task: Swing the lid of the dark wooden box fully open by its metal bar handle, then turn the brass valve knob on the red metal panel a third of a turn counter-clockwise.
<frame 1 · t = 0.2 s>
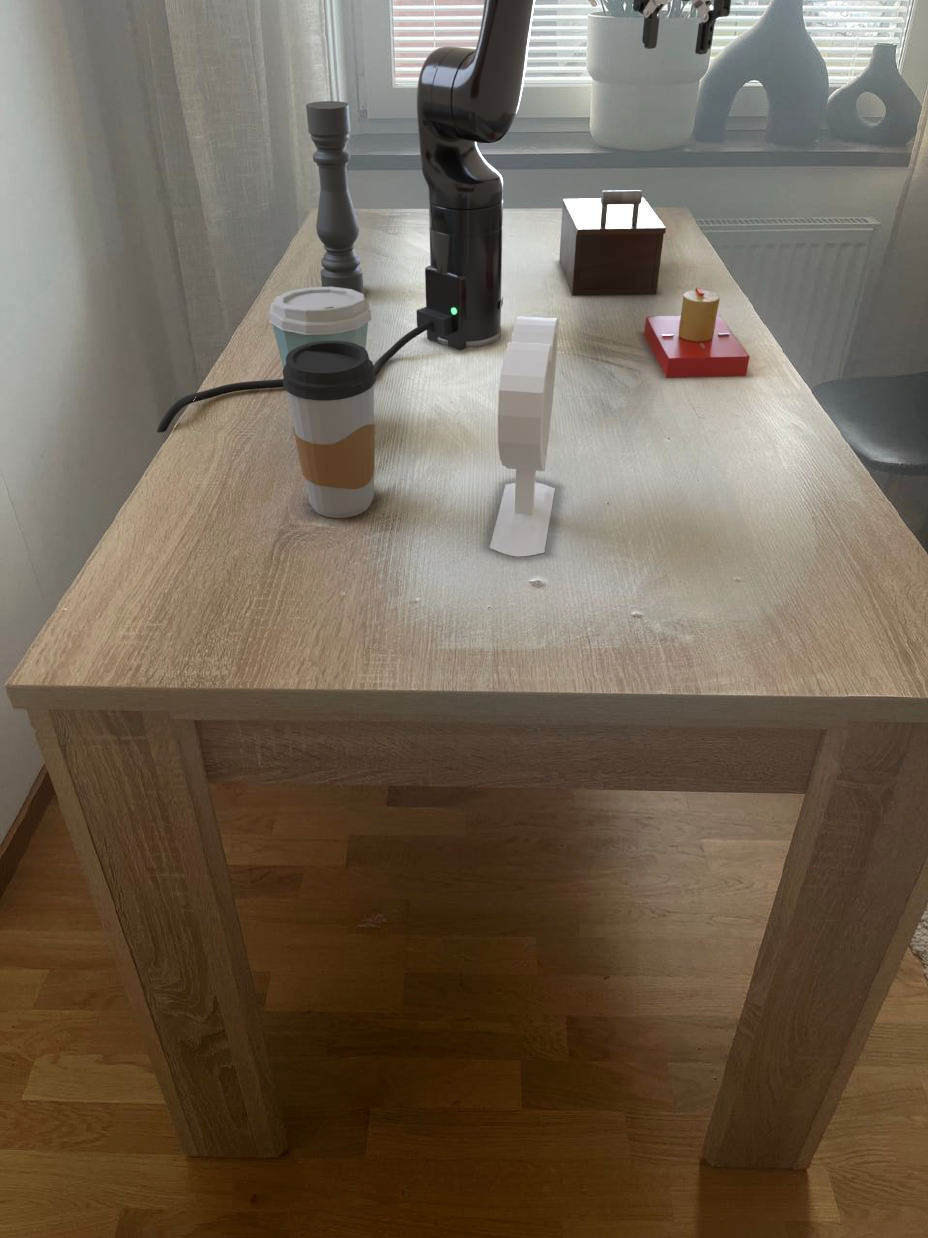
hand: (675, 50, 132), 29 cm above the table, tool pointing down, fingers open, 8 cm apart
candle holder: (343, 294, 138), on the table
disposable coffee cup: (332, 429, 104), on the table
heart sculpture: (523, 518, 89), on the table
box lid: (613, 199, 135), point 11 cm above the table, hinge at 0.0°
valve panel: (692, 354, 119), on the table
valve knob: (698, 314, 116), point 5 cm above the table, hinge at 0.0°
coffee cup: (342, 504, 91), on the table
dark wooden box: (605, 277, 143), on the table
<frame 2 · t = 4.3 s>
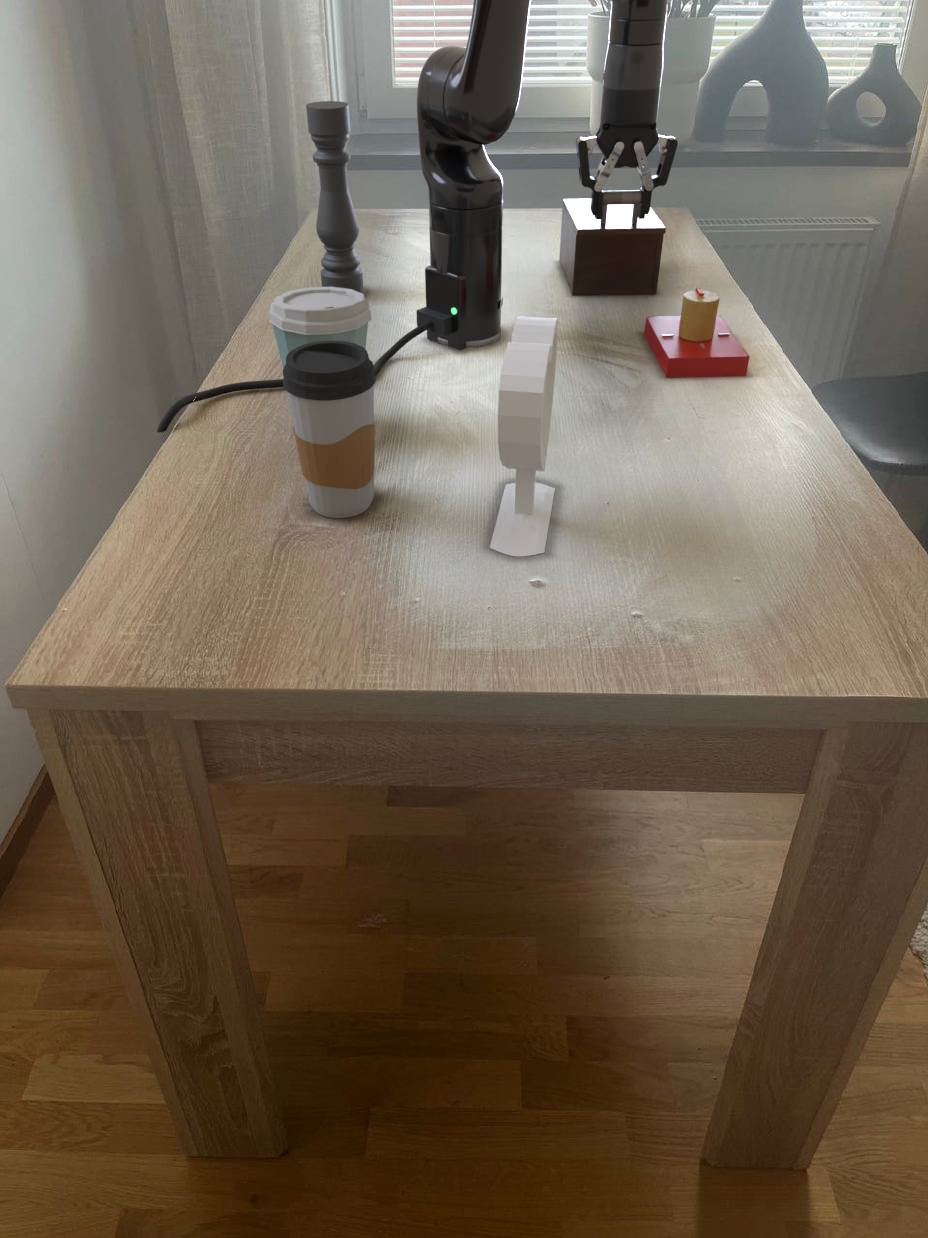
hand: (619, 217, 132), 11 cm above the table, tool pointing down, fingers closed on box lid, 5 cm apart
box lid: (613, 199, 135), point 11 cm above the table, hinge at 0.0°, touching gripper
everything else where it was.
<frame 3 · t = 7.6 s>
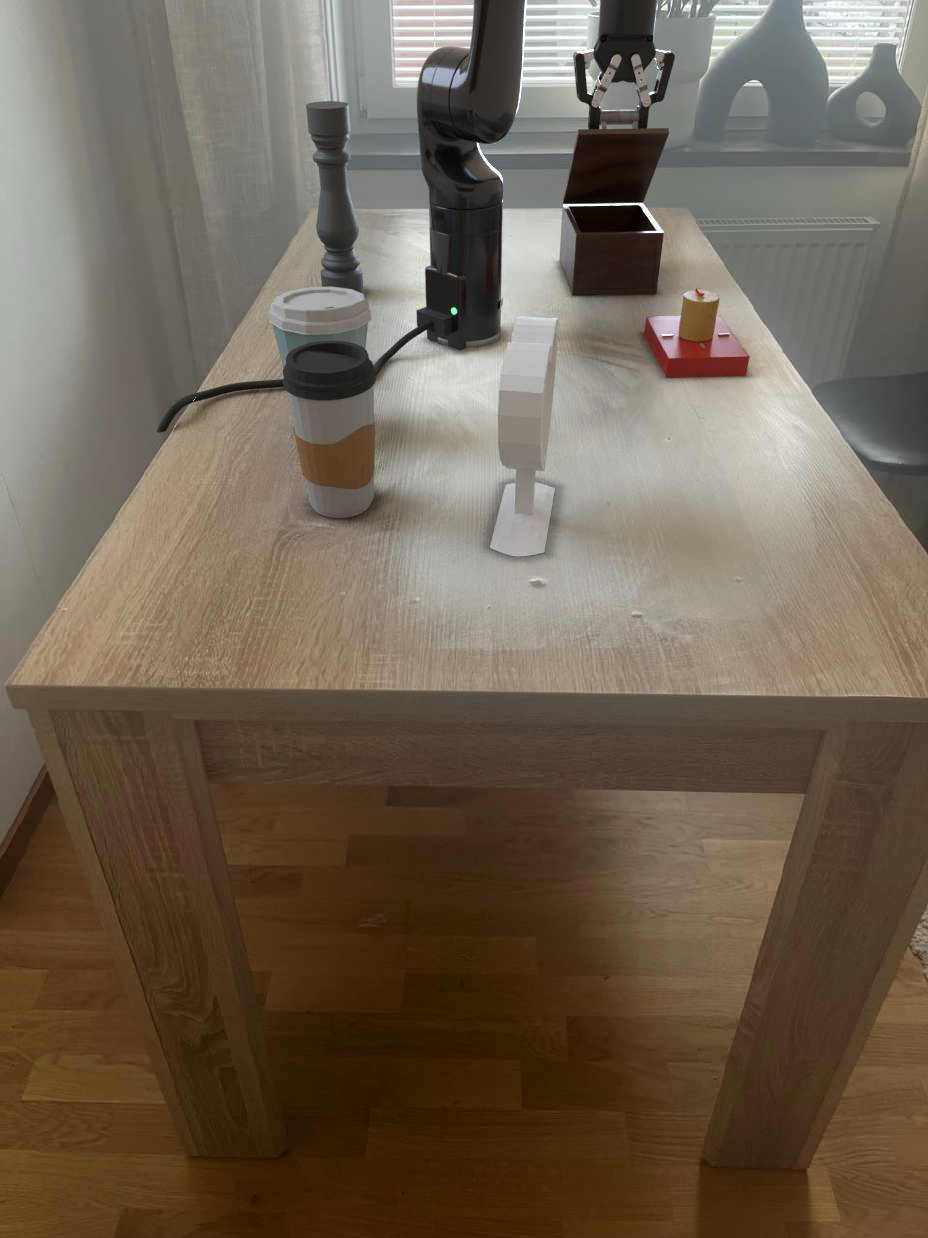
hand: (616, 135, 132), 20 cm above the table, tool pointing down, fingers closed on box lid, 5 cm apart
box lid: (611, 154, 135), point 17 cm above the table, hinge at 46.3°, touching gripper
everything else where it was.
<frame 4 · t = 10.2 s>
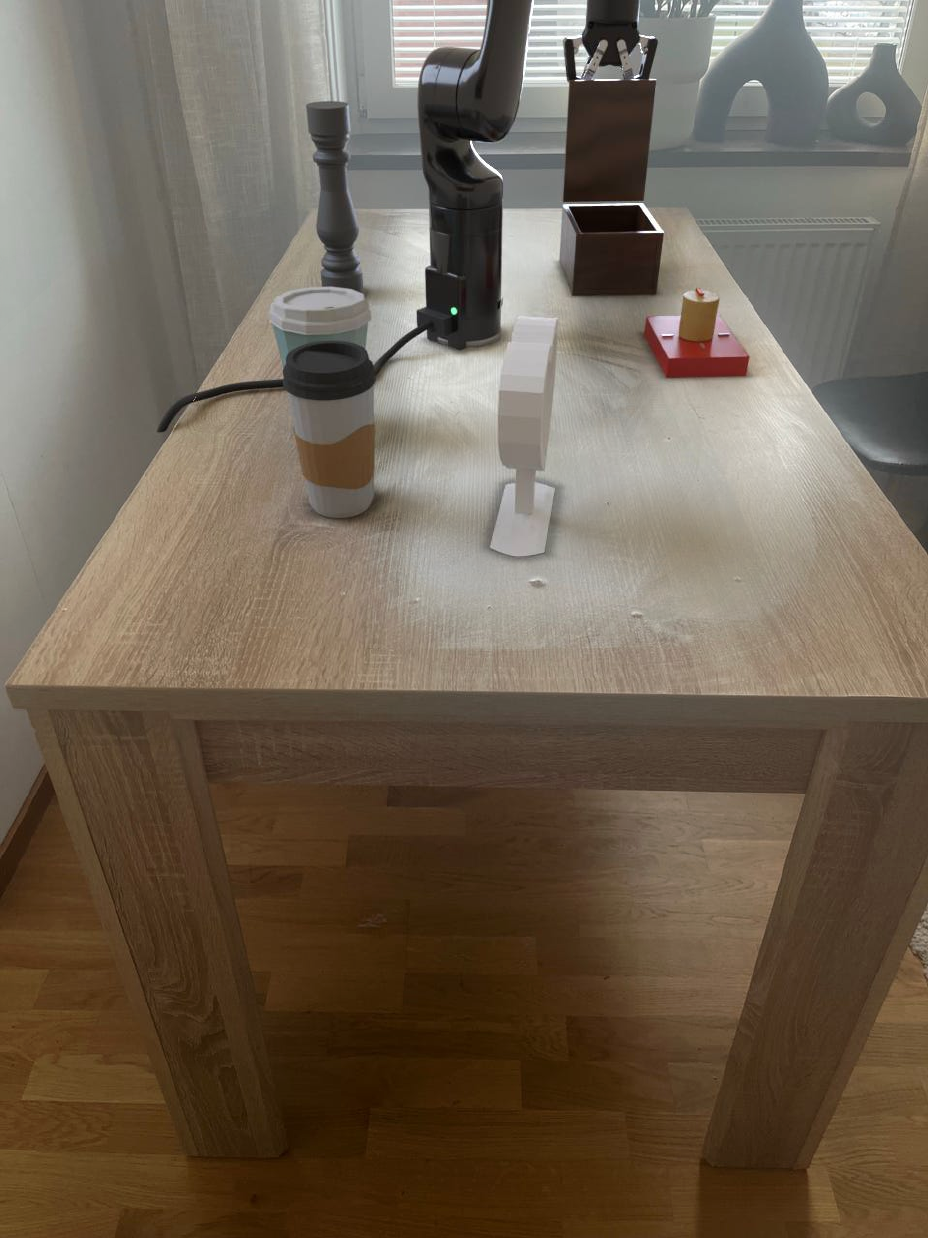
hand: (604, 116, 140), 20 cm above the table, tool pointing down, fingers closed on box lid, 5 cm apart
box lid: (605, 139, 140), point 17 cm above the table, hinge at 90.3°, touching gripper
everything else where it was.
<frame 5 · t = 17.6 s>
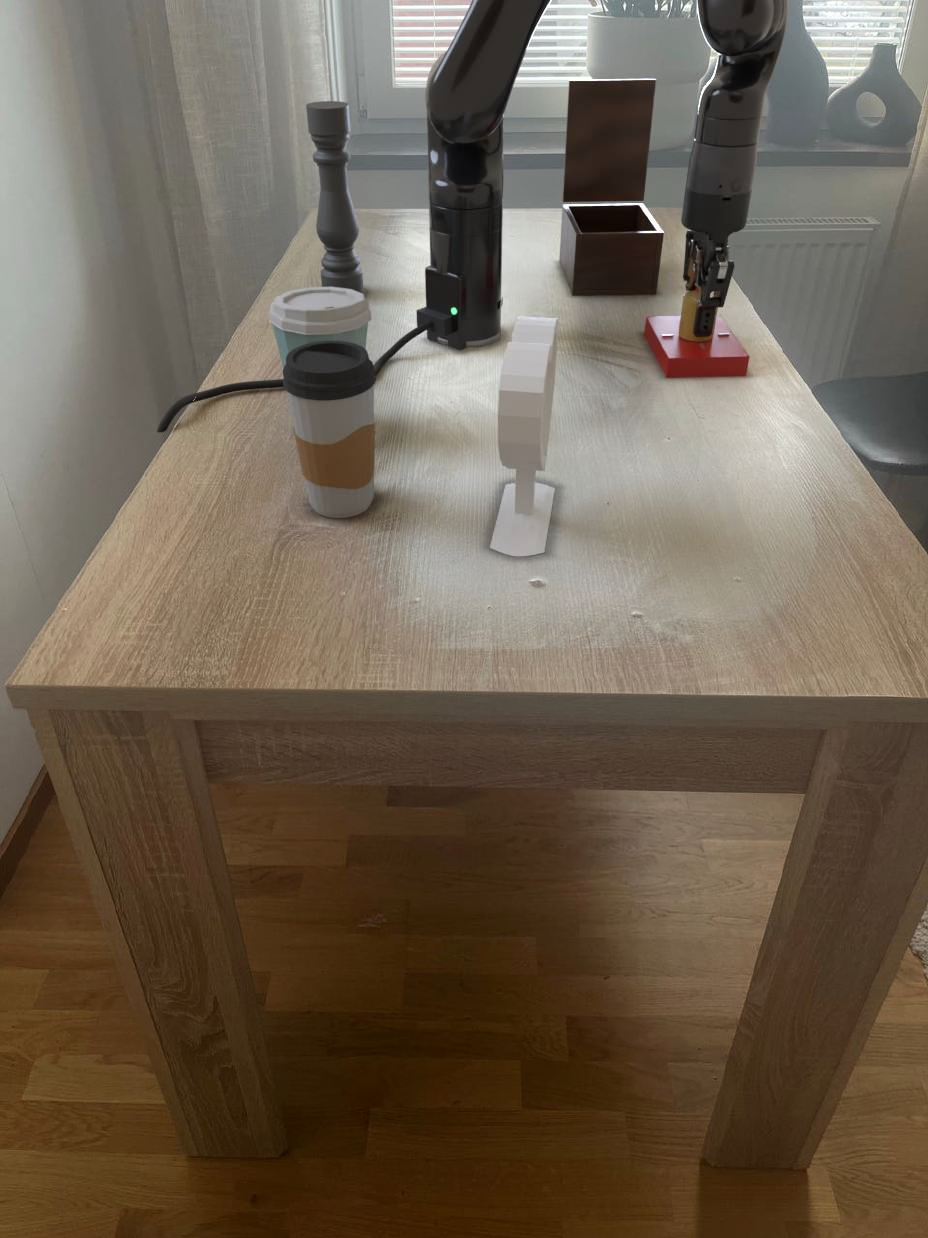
hand: (697, 327, 117), 4 cm above the table, tool pointing down, fingers closed on valve knob, 4 cm apart
box lid: (605, 139, 140), point 17 cm above the table, hinge at 91.0°
valve knob: (698, 314, 116), point 5 cm above the table, hinge at 0.4°, touching gripper
everything else where it was.
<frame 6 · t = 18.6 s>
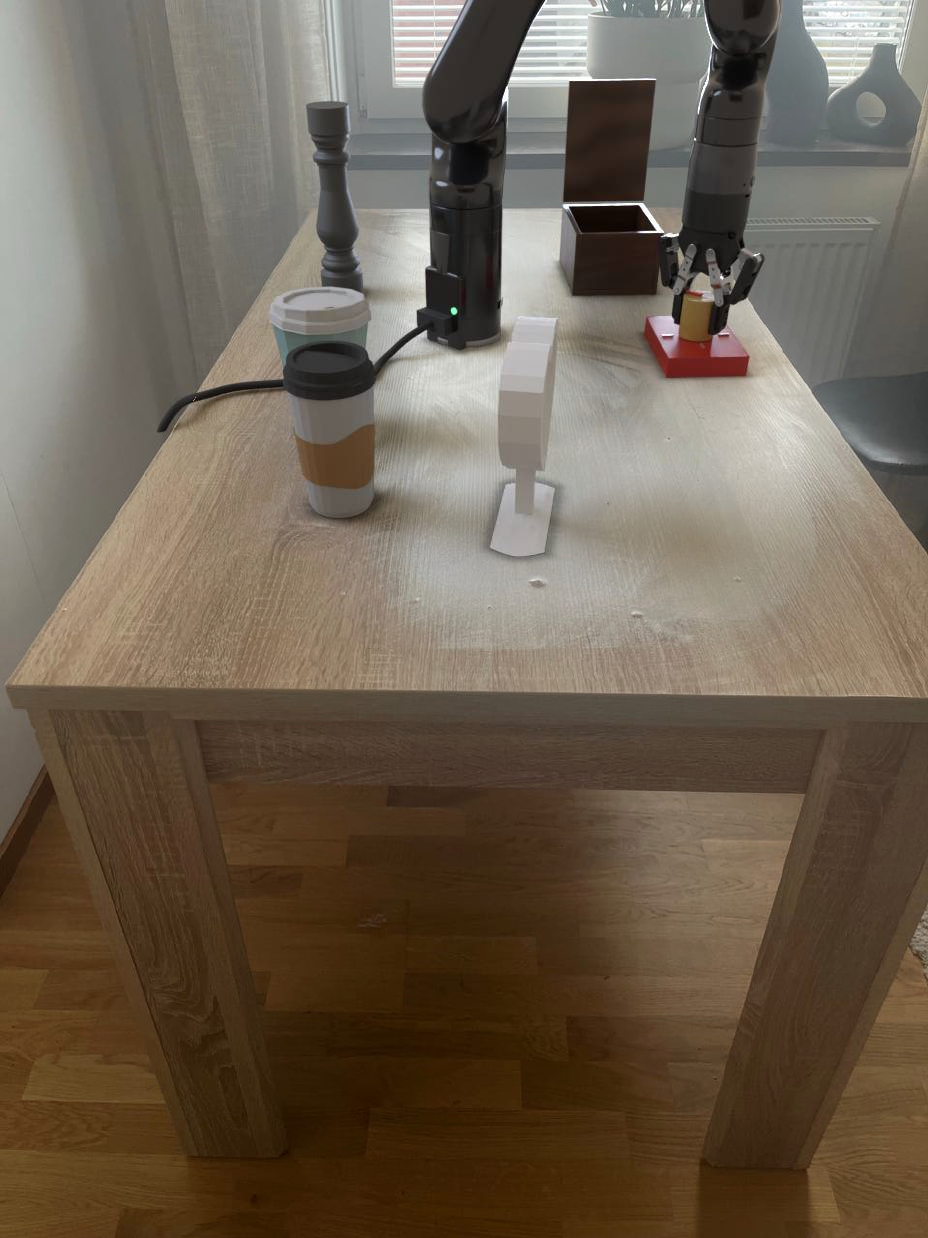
hand: (697, 327, 117), 4 cm above the table, tool pointing down, fingers closed on valve knob, 4 cm apart
valve knob: (698, 314, 116), point 5 cm above the table, hinge at 46.4°, touching gripper
everything else where it was.
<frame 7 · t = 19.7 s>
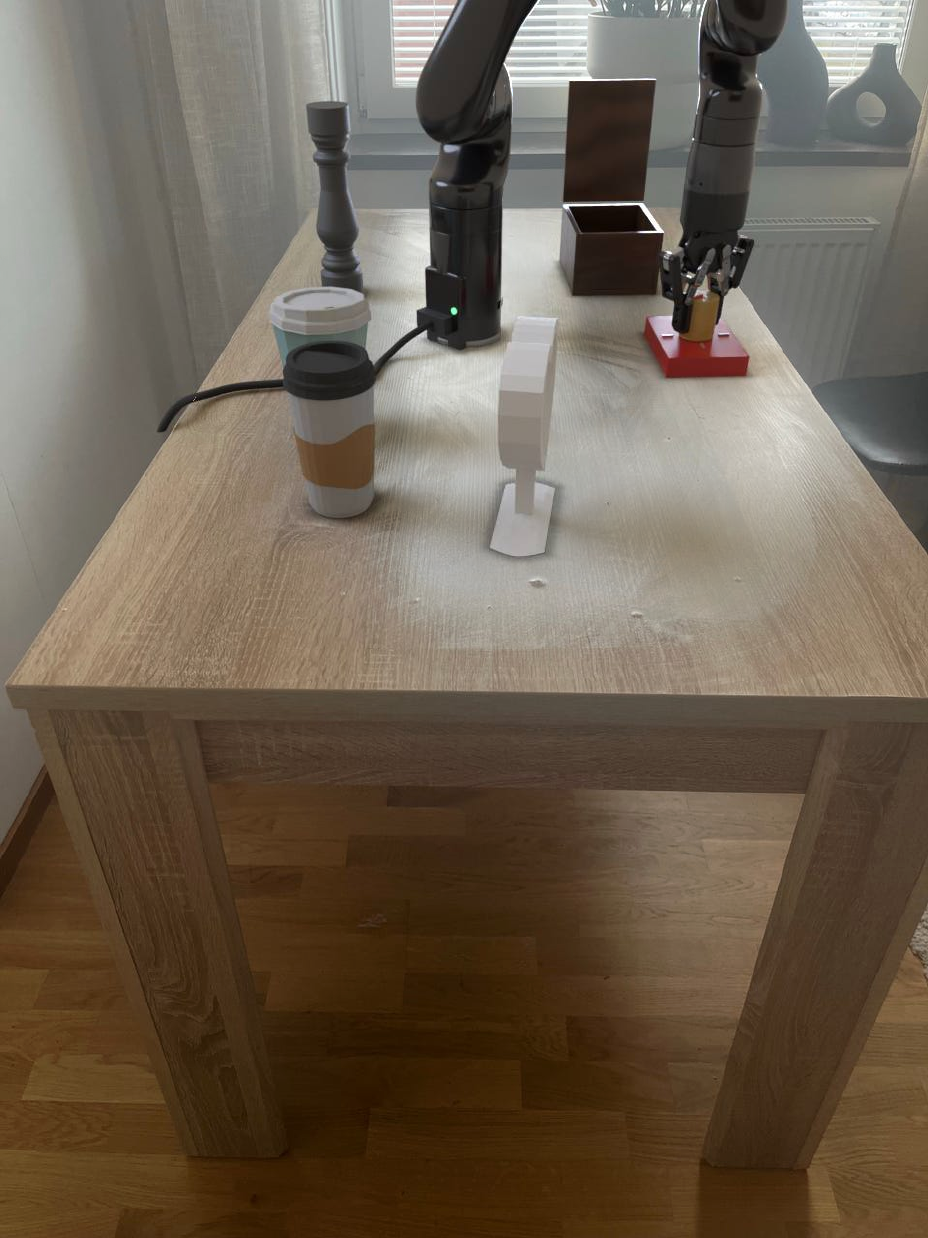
hand: (695, 327, 117), 3 cm above the table, tool pointing down, fingers closed on valve knob, 4 cm apart
valve knob: (698, 314, 116), point 5 cm above the table, hinge at 125.4°, touching gripper
everything else where it was.
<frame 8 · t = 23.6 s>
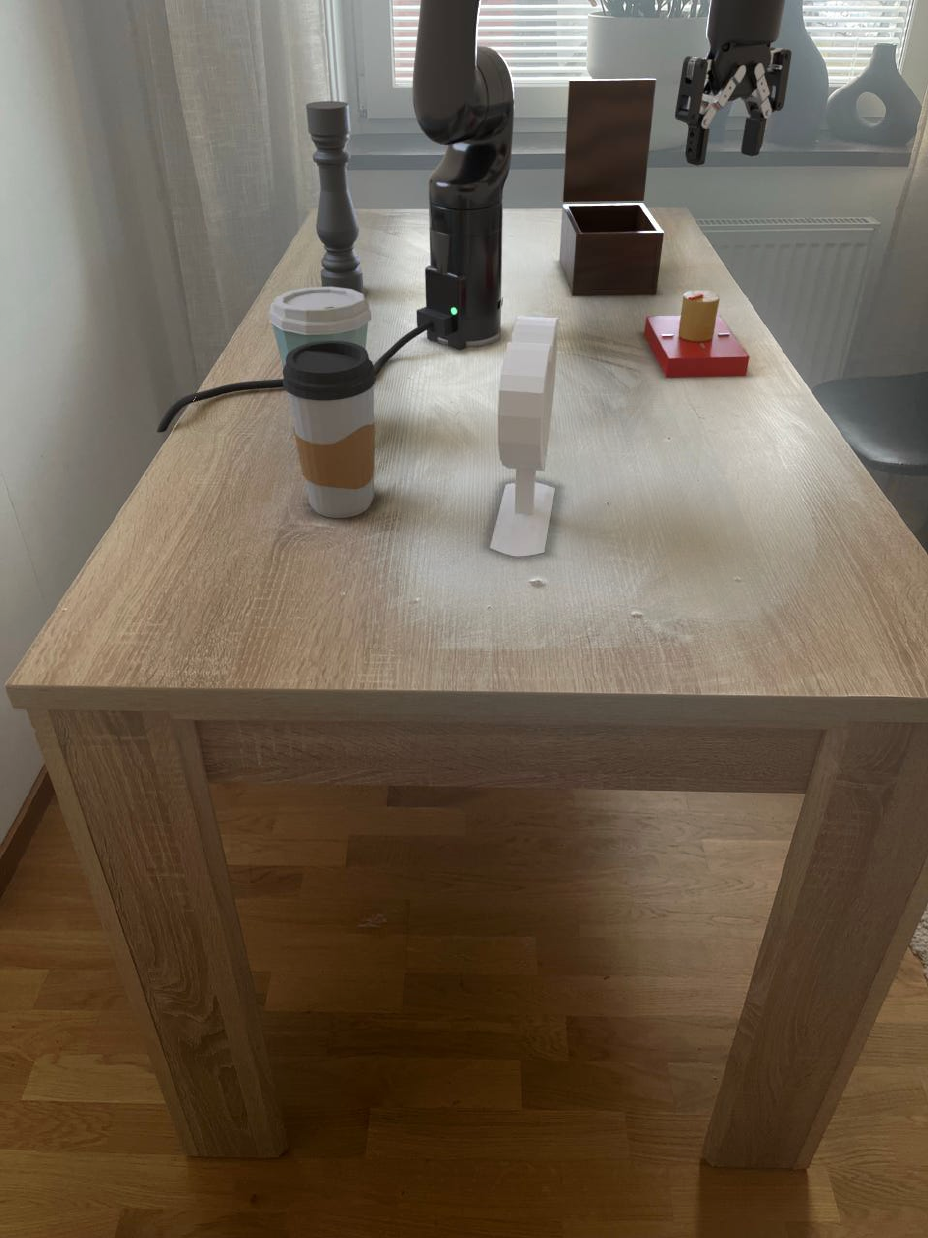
hand: (722, 159, 105), 23 cm above the table, tool pointing down, fingers open, 8 cm apart
valve knob: (698, 314, 116), point 5 cm above the table, hinge at 125.2°
everything else where it was.
at the end: box lid at +91° (first picture: +0°); valve knob at +125° (first picture: +0°) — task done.
